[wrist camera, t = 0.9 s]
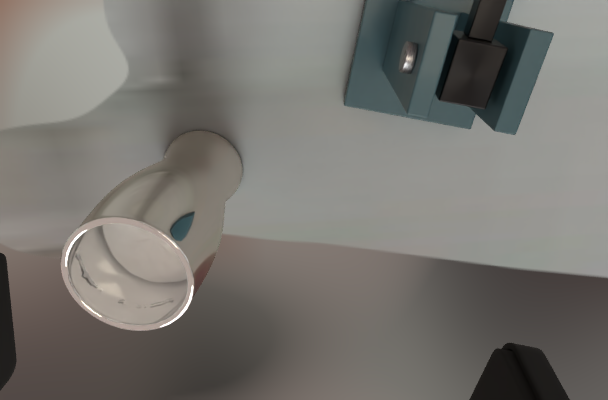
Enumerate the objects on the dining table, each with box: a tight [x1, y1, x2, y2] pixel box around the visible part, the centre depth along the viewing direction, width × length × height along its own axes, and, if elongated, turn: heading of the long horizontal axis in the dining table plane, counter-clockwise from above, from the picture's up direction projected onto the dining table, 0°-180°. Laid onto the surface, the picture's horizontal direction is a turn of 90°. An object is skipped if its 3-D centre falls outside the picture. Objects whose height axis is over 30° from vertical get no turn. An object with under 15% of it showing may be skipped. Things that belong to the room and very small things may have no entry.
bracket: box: [344, 0, 554, 135], centre depth 26 cm, size 10×9×13 cm
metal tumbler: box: [61, 130, 243, 331], centre depth 30 cm, size 7×7×15 cm
